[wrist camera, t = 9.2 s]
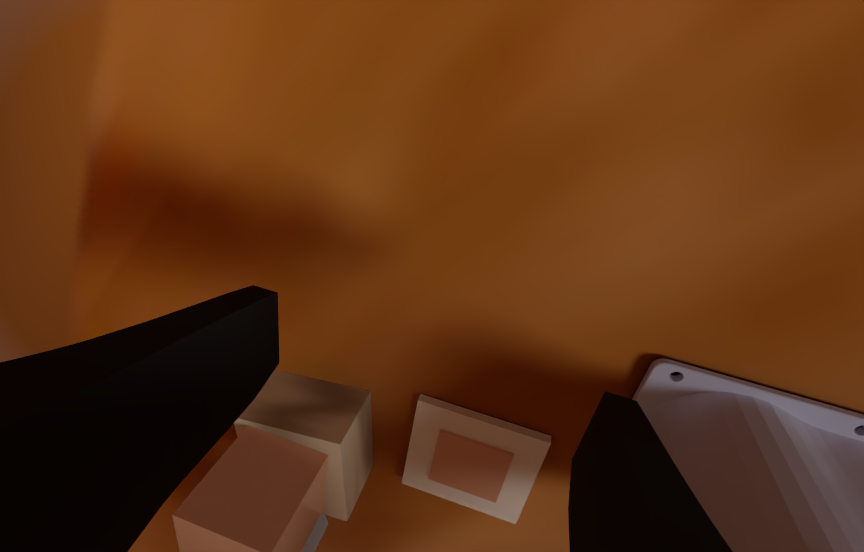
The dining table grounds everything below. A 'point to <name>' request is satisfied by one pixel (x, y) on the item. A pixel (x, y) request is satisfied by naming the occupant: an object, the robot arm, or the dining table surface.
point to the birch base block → (320, 430)
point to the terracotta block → (255, 498)
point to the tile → (473, 458)
